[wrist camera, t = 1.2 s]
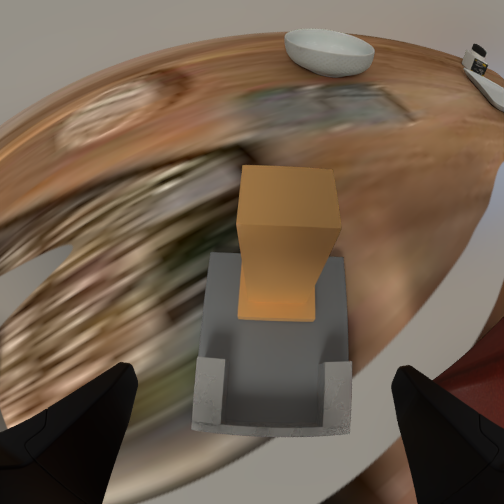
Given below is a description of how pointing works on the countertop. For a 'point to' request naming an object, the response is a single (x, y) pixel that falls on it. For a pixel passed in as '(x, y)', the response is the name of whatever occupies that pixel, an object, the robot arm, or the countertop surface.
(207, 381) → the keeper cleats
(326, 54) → the cereal bowl
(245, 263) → the brown boxy piece
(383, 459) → the countertop surface
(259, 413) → the board
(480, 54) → the medicine bottle
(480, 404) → the plant pot
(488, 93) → the salad plate
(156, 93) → the countertop surface
